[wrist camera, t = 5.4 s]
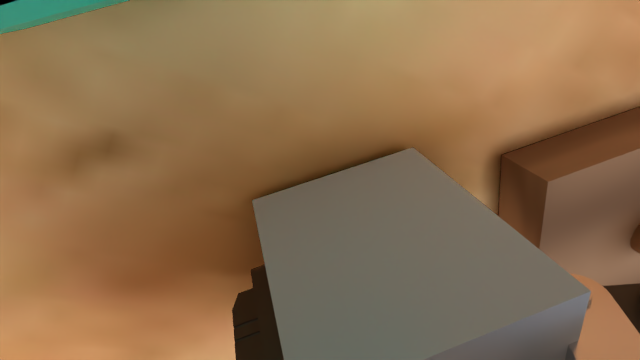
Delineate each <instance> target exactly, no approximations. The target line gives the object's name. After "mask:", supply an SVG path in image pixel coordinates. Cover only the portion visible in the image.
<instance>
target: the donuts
mask: <svg viewBox="0 0 640 360" xmlns="http://www.w3.org/2000/svg"><path fill="white" fill-rule="evenodd" d="M125 1H129V0H0V34H2V33H7V32H12V31H17V30H22V29H27V28H30V27H34V26H38V25H41V24H45V23H49V22H52V21H56V20H59V19H63V18H67V17H70V16H74V15H78V14H81V13H85V12H89V11H92V10H96V9H100V8H103V7H107V6H111V5H114V4H118V3H122V2H125Z"/></svg>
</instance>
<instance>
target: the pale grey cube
mask: <svg viewBox="0 0 640 360" xmlns="http://www.w3.org/2000/svg"><path fill="white" fill-rule="evenodd" d="M252 203H253V208H254V213H255V218H256V223H257V228H258V233H259V238H260V243H261V248H262V253H263V258H264V263H265V268H266V273H267V278H268V283H269V288H270V293H271V298H272V303H273V308H274V313H275V318H276V322H277V327H278V332H279V337H280V342H281V347H282V352H283V357H284V360H565V357H566V353H567V348H568V345H569V344H571V343H573V342H576V341H578V340H579V337H580V333H581V329H582V325H583V321H584V317H585V313H586V309H587V305H588V301H589V298H590V294H591V291H590V290H589V289H588V288H587V287H585V286H584V285H583V284H582V283H580V282H579V281H578V280H577V279H575V278H574V277H573V276H572V275H571V274H569V273H568V272H567V271H566V270H564V269H563V268H562V267H561V266H559V265H558V264H557V263H556V262H554V261H553V260H552V259H551V258H549V257H548V256H547V255H546V254H545V253H543V252H542V251H541V250H540V249H538V248H537V247H536V246H535V245H533V244H532V243H531V242H530V241H528V240H527V239H526V238H525V237H524V236H522V235H521V234H520V233H519V232H517V231H516V230H515V229H514V228H512V227H511V226H510V225H509V224H507V223H506V222H505V221H504V220H502V219H501V218H500V217H499V216H498V215H496V214H495V213H494V212H493V211H491V210H490V209H489V208H488V207H486V206H485V205H484V204H483V203H481V202H480V201H479V200H478V199H476V198H475V197H474V196H473V195H472V194H470V193H469V192H468V191H467V190H465V189H464V188H463V187H462V186H460V185H459V184H458V183H457V182H455V181H454V180H453V179H452V178H451V177H449V176H448V175H447V174H446V173H444V172H443V171H442V170H441V169H439V168H438V167H437V166H436V165H434V164H433V163H432V162H431V161H429V160H428V159H427V158H426V157H425V156H423V155H422V154H421V153H420V152H418V151H417V150H416V149H415V148H413V147H412V148H409V149H406V150H403V151H400V152H397V153H394V154H391V155H388V156H385V157H382V158H379V159H376V160H373V161H370V162H367V163H364V164H361V165H358V166H355V167H352V168H349V169H345V170H342V171H339V172H336V173H333V174H330V175H327V176H324V177H321V178H318V179H315V180H312V181H309V182H306V183H303V184H300V185H297V186H294V187H291V188H288V189H285V190H282V191H279V192H276V193H273V194H270V195H266V196H263V197H260V198H257V199H254V200H252Z"/></svg>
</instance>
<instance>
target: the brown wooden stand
mask: <svg viewBox="0 0 640 360" xmlns="http://www.w3.org/2000/svg"><path fill="white" fill-rule="evenodd" d="M499 217H500V218H501V219H502V220H504V221H505V222H506V223H507V224H509V225H510V226H511V227H512V228H514V229H515V230H516V231H517V232H519V233H520V234H521V235H522V236H524V237H525V238H526V239H527V240H528V241H530V242H531V243H532V244H533V245H535V246H536V247H537V248H538V249H540V250H541V251H542V252H543V253H545V254H546V255H547V256H548V257H549V258H551V259H552V260H553V261H554V262H556V263H557V264H558V265H559V266H561V267H562V268H563V269H564V270H566V271H567V272H568V273H571V274H577V275H581V276H585V277H587V278H590V279H592V280H594V281H596V282H598V283H599V284H600V285H602V286H610V285H623V284H636V283H640V107H638V108H635V109H632V110H630V111H627V112H624V113H621V114H618V115H615V116H612V117H609V118H607V119H604V120H601V121H598V122H595V123H592V124H589V125H586V126H584V127H581V128H578V129H575V130H572V131H569V132H566V133H563V134H560V135H558V136H555V137H552V138H549V139H546V140H543V141H540V142H537V143H535V144H532V145H529V146H526V147H523V148H520V149H517V150H514V151H512V152H509V153H506V154H503V155H502V159H501V179H500V199H499Z"/></svg>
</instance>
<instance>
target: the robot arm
mask: <svg viewBox="0 0 640 360" xmlns="http://www.w3.org/2000/svg"><path fill="white" fill-rule="evenodd" d="M569 274H571V273H569ZM571 275H572V276H573V277H574V278H575V279H577V280H578V281H579V282H580V283H582V284H583V285H584V286H585V287H587V288H588V289H589V290H590V291H591V294H590V298H589V301H588V305H587V309H586V313H585V317H584V321H583V325H582V329H581V333H580V337H579V340H578V341H576V342H573V343H571V344H569V345H568V348H567V353H566V357H565V360H640V283H636V284H623V285H610V286H602V285H600V284H599V283H598V282H596V281H594V280H592V279H590V278H587V277H585V276H581V275H577V274H571ZM251 276H252V282H253V288H252V289H249V290H247V291H244V292H241V293H238V296H237V299H236V301H235V304H234V307H233V310H232V313H233V326H234V339H235V353H236V360H284V357H283V352H282V347H281V342H280V337H279V332H278V327H277V322H276V318H275V313H274V308H273V303H272V298H271V293H270V288H269V283H268V278H267V273H266V268H265V265H263V266H260V267H257V268H254V269H251Z"/></svg>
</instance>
